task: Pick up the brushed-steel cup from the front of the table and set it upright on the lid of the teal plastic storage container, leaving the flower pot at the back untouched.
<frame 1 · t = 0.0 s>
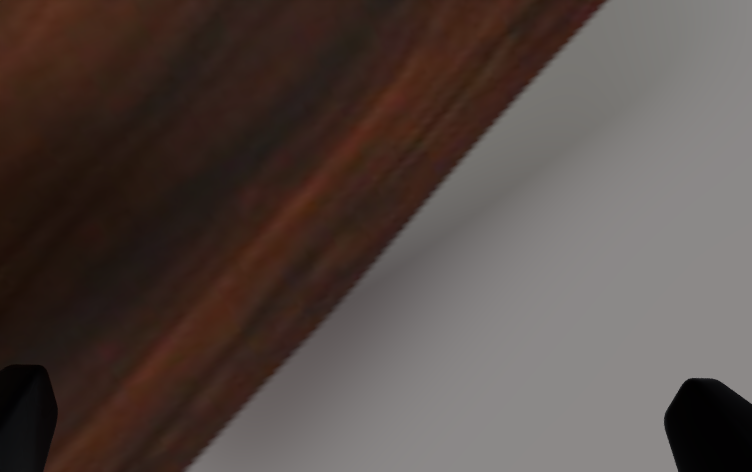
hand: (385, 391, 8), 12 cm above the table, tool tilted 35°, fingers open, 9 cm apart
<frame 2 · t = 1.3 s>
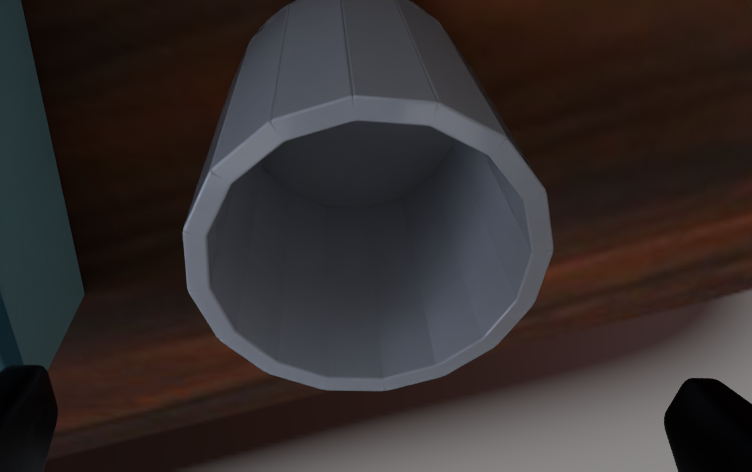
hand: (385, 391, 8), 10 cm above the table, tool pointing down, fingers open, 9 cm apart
cup: (353, 110, 16), on the table
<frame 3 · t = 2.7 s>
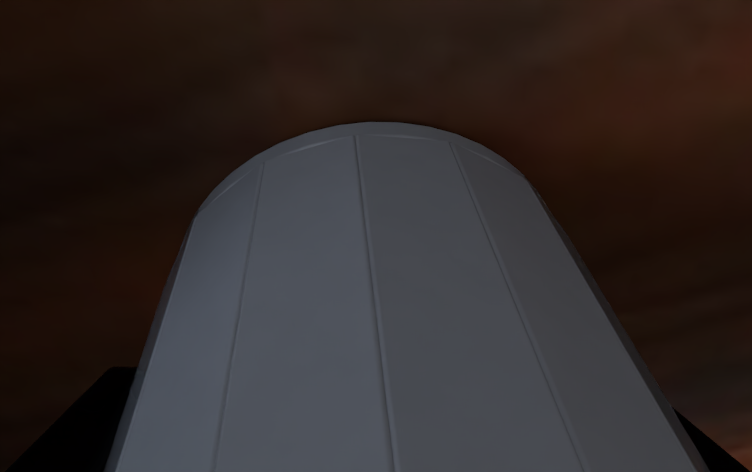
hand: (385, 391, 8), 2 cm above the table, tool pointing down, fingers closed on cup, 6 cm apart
cup: (372, 296, 10), on the table, touching gripper
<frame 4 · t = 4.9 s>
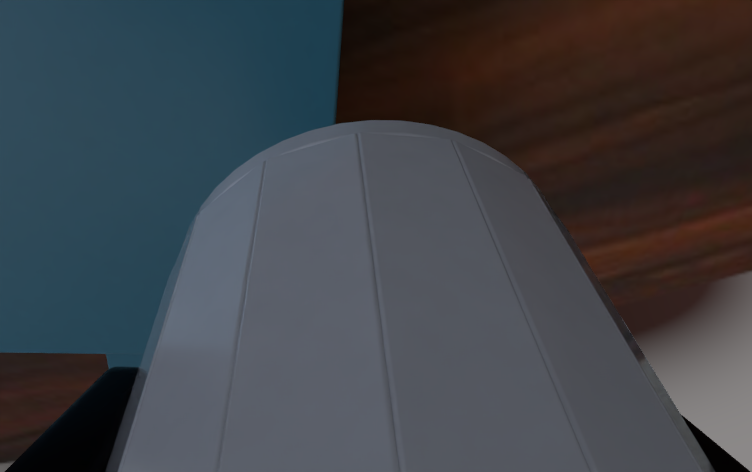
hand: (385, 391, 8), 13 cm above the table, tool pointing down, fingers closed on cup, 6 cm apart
cup: (374, 294, 10), point 10 cm above the table, touching gripper
container: (156, 81, 18), on the table
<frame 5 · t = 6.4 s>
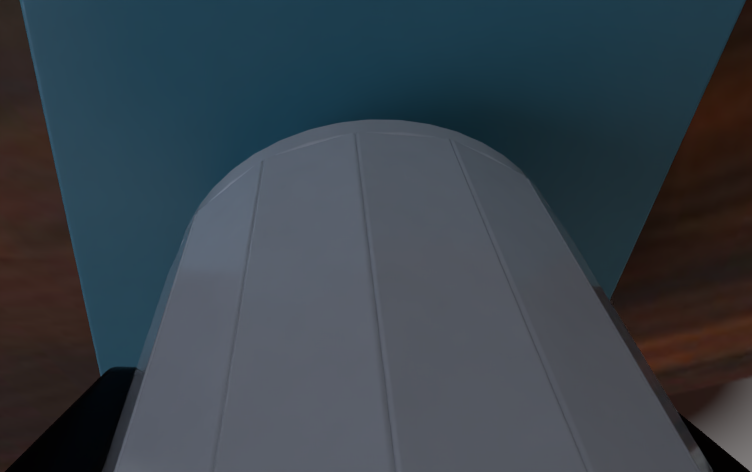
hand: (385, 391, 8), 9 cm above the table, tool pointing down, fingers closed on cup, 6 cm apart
cup: (372, 294, 10), point 7 cm above the table, touching gripper
container: (352, 125, 15), on the table
when the fingers open (7 cm above the table, at t = 7.4 s): cup stays where it is, resting on container.
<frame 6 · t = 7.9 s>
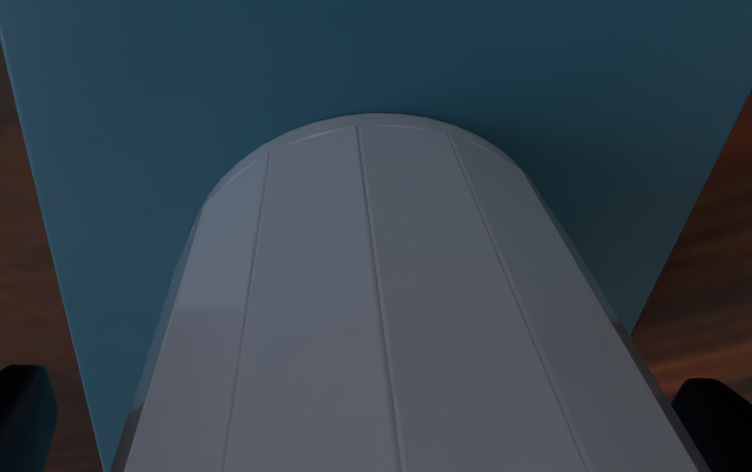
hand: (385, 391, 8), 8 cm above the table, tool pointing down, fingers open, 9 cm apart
cup: (373, 282, 10), point 5 cm above the table, touching container
container: (356, 145, 15), on the table
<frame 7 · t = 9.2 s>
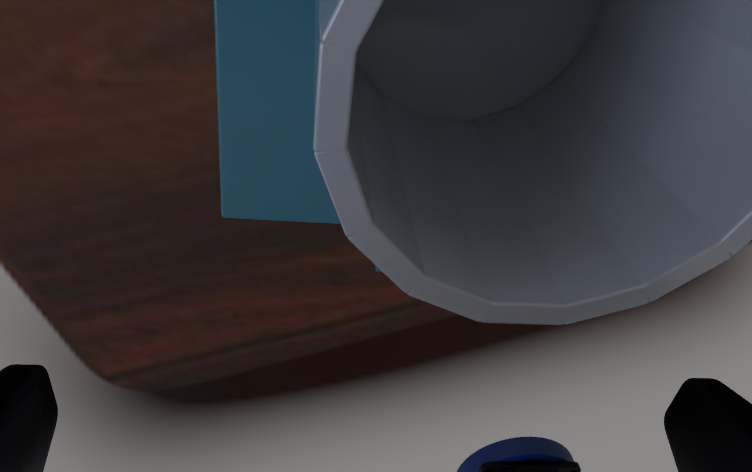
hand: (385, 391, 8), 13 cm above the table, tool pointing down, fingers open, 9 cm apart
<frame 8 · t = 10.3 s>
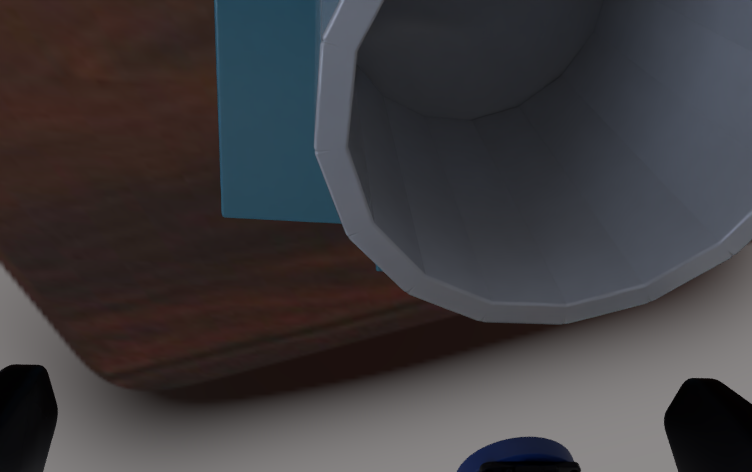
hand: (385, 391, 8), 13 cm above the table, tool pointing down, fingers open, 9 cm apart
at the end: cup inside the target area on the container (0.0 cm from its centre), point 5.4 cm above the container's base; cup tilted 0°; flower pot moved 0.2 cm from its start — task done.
